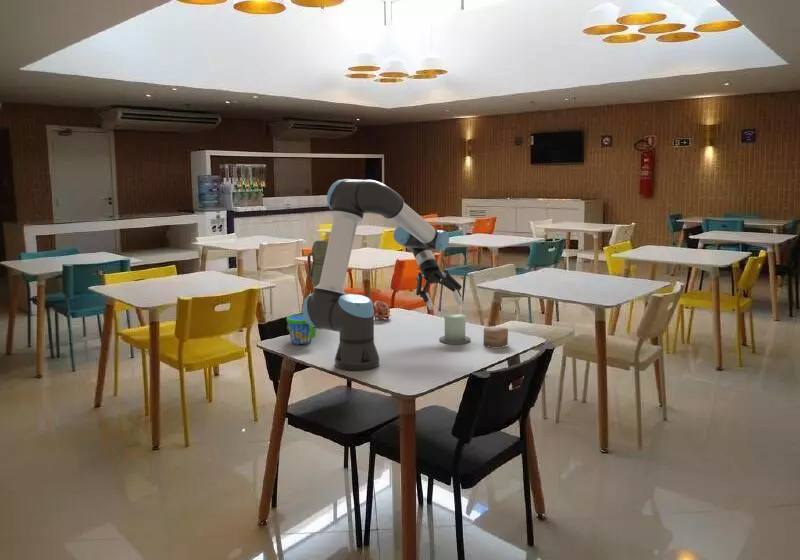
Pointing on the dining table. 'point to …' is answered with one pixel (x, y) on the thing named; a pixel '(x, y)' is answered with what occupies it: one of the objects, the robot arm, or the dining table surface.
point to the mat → (442, 339)
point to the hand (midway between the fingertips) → (446, 306)
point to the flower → (381, 310)
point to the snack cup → (300, 329)
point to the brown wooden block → (495, 336)
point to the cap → (455, 327)
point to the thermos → (317, 261)
